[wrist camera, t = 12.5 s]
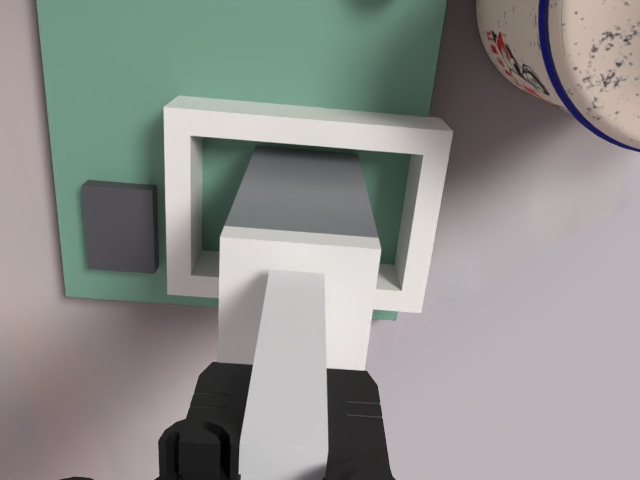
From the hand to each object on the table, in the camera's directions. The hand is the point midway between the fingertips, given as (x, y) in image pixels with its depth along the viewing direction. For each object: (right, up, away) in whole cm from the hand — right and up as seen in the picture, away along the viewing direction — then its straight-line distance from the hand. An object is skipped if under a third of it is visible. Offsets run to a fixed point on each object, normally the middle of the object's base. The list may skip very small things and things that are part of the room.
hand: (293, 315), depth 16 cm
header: (0, +4, +10) cm, 11 cm away
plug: (0, +4, +10) cm, 10 cm away
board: (-3, +7, +10) cm, 12 cm away
